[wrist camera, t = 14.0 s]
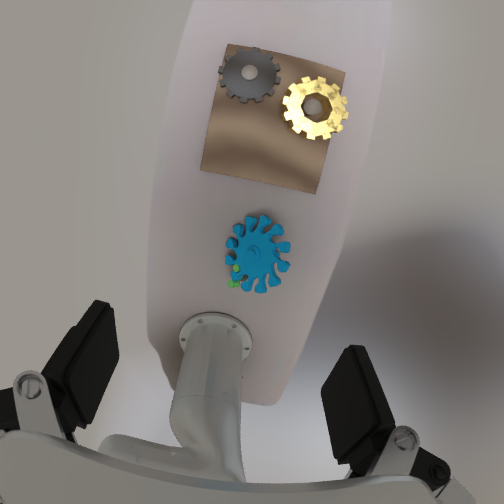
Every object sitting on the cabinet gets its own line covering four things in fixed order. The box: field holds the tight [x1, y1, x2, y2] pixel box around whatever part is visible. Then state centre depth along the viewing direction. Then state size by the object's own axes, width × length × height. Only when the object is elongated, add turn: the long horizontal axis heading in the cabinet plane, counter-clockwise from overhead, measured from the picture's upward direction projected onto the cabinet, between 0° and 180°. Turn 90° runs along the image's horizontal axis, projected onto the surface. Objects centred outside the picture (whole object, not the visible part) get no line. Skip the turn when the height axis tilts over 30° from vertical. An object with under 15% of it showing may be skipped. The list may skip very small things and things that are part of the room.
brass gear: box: [279, 76, 349, 140], centre depth 28 cm, size 7×7×4 cm
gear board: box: [200, 44, 345, 194], centre depth 30 cm, size 17×15×5 cm
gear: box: [226, 215, 290, 293], centre depth 37 cm, size 11×6×10 cm
